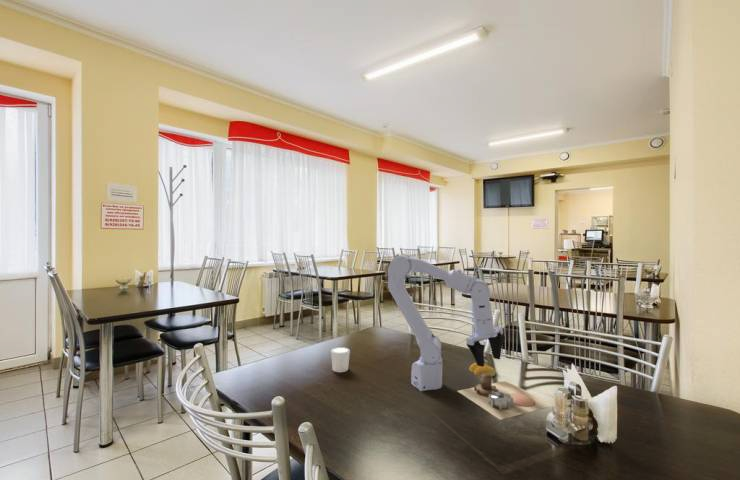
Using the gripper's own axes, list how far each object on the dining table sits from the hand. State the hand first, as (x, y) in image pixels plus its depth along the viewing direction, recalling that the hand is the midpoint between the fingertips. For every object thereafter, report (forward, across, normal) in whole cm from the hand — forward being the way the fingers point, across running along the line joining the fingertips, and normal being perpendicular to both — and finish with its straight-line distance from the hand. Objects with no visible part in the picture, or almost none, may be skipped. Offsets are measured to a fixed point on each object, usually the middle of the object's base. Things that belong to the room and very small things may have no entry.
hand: (488, 362), depth 109 cm
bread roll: (+10, +9, +12) cm, 19 cm away
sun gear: (+9, -5, -7) cm, 13 cm away
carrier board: (+10, -1, -4) cm, 11 cm away
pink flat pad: (+10, +2, -8) cm, 13 cm away
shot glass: (+2, -32, +41) cm, 52 cm away
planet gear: (+9, -2, +1) cm, 9 cm away
